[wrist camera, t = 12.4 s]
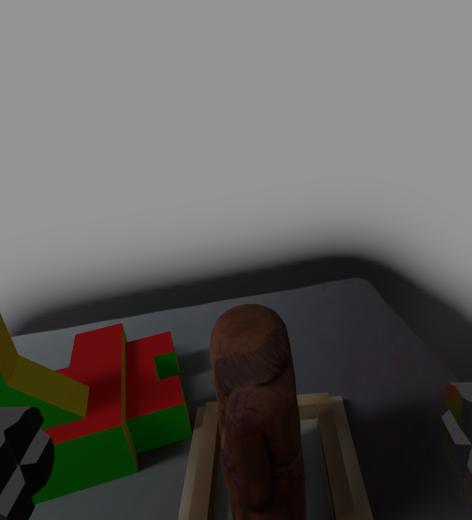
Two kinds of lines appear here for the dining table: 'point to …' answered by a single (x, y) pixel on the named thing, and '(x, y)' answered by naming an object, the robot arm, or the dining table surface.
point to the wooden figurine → (258, 415)
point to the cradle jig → (314, 456)
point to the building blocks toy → (99, 404)
